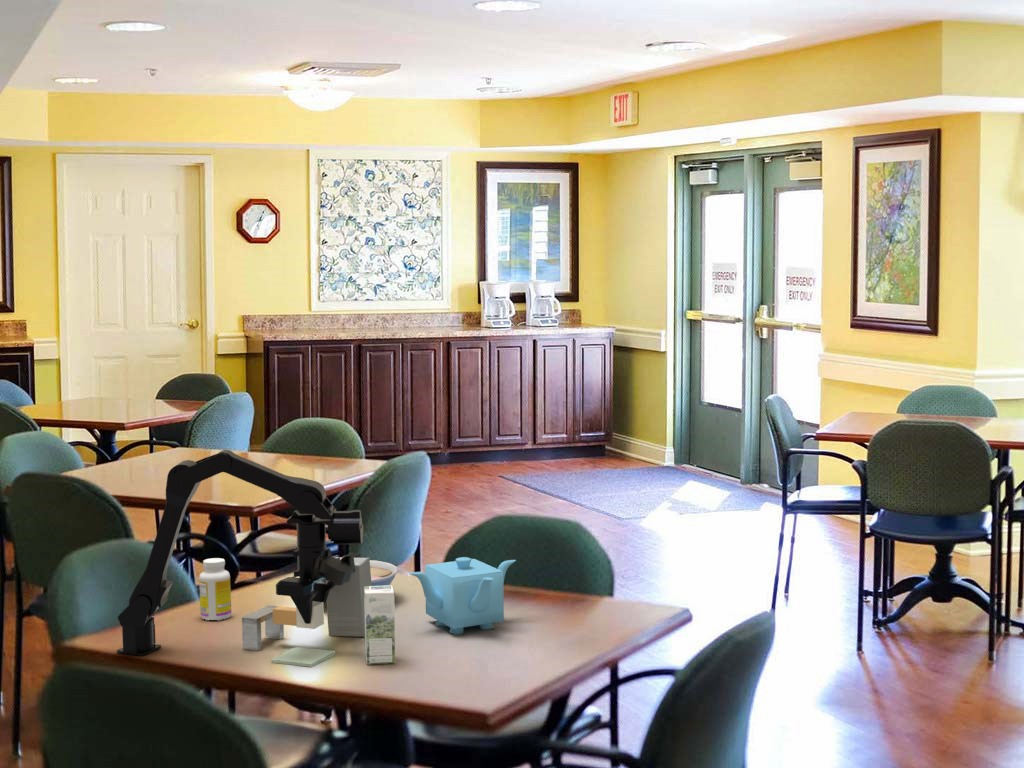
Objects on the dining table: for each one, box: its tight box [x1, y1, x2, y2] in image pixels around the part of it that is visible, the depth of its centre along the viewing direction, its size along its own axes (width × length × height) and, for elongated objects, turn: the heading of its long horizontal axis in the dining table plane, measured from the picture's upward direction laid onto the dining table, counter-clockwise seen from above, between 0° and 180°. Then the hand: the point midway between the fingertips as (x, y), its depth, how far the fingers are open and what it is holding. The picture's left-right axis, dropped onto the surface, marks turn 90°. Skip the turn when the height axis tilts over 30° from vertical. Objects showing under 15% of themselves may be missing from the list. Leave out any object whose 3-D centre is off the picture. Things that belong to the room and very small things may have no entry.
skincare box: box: [326, 556, 372, 638], centre depth 289 cm, size 8×7×16 cm
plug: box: [273, 601, 325, 630], centre depth 280 cm, size 4×10×4 cm, turn 68°
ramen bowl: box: [292, 552, 398, 586], centre depth 316 cm, size 25×23×8 cm
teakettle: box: [409, 556, 517, 635], centre depth 294 cm, size 19×19×15 cm
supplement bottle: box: [198, 557, 232, 621], centre depth 303 cm, size 7×7×13 cm
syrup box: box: [364, 584, 396, 665], centre depth 270 cm, size 6×6×14 cm
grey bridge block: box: [241, 604, 285, 651], centre depth 283 cm, size 10×4×6 cm, turn 158°
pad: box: [271, 646, 335, 668], centre depth 273 cm, size 9×9×1 cm
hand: (313, 620), depth 279 cm, fingers closed on plug, 4 cm apart
